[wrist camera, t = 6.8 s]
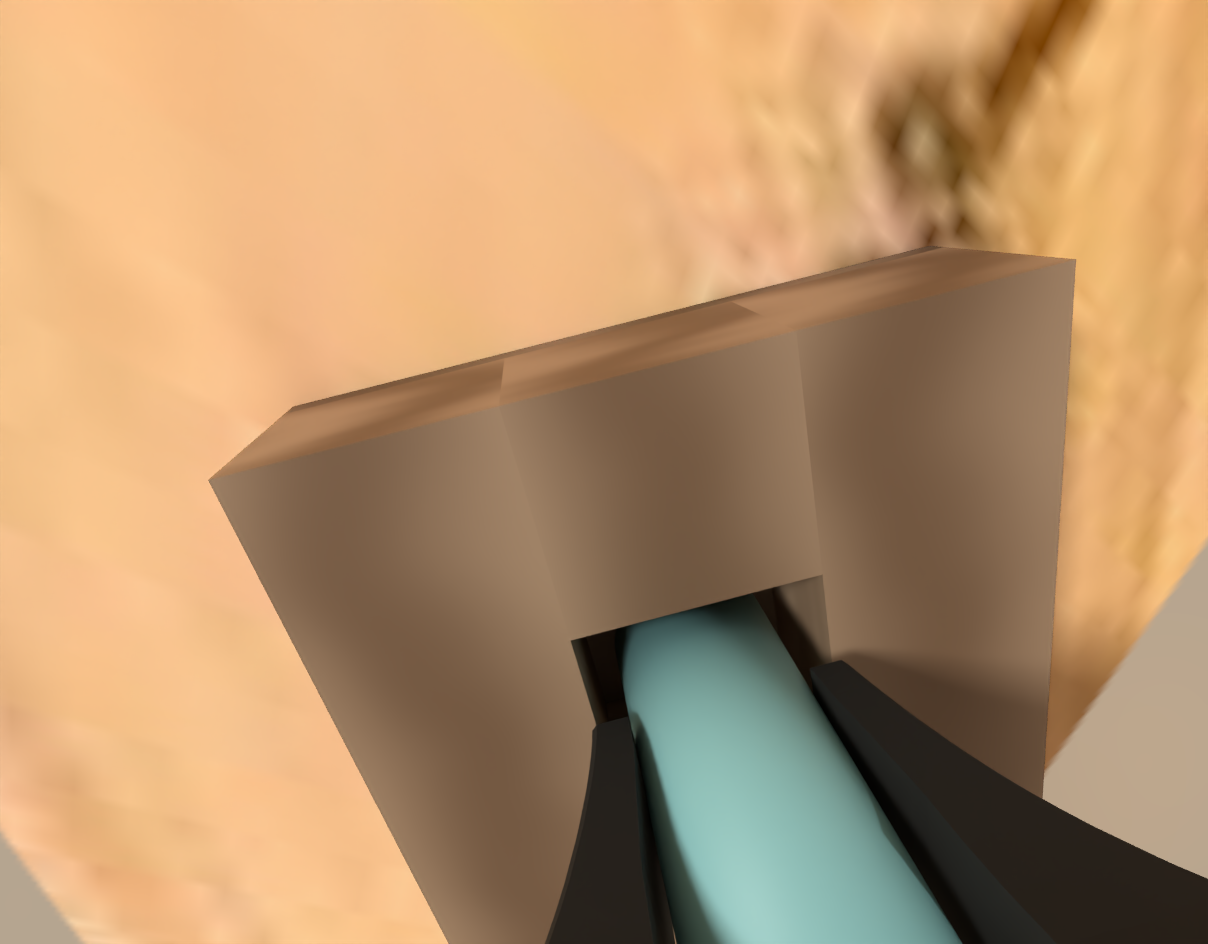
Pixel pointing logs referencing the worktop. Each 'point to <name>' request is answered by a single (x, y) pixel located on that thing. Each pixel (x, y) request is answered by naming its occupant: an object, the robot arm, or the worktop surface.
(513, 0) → the worktop surface
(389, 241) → the worktop surface
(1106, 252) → the worktop surface
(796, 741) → the teal pin
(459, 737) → the socket block
